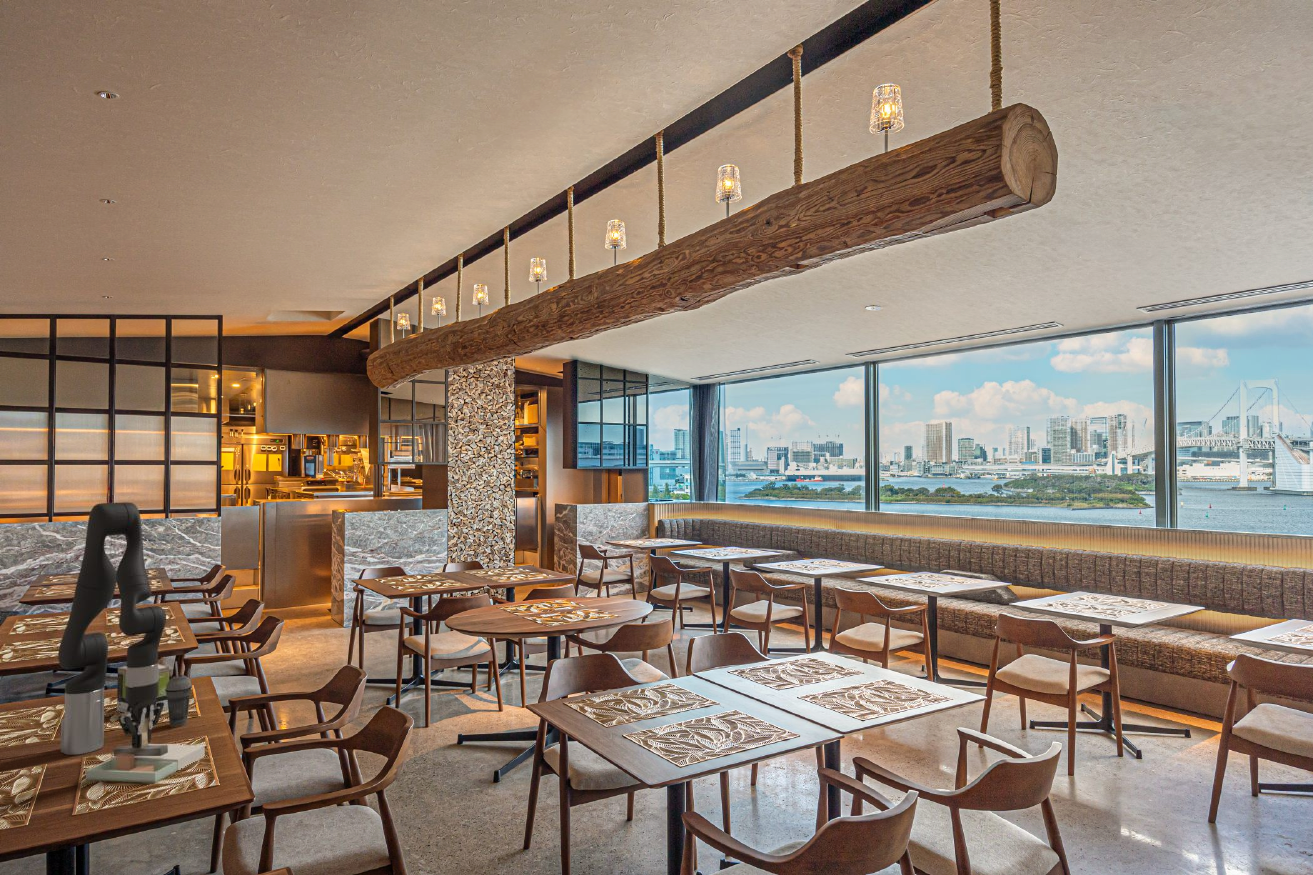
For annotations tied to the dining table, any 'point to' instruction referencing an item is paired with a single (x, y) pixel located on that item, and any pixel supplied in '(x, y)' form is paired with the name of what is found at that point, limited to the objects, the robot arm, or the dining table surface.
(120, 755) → the tile
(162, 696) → the tea box
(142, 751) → the scraper
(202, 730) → the dining table surface
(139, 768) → the tile
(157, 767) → the tray
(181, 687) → the beverage cup
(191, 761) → the stone plate
